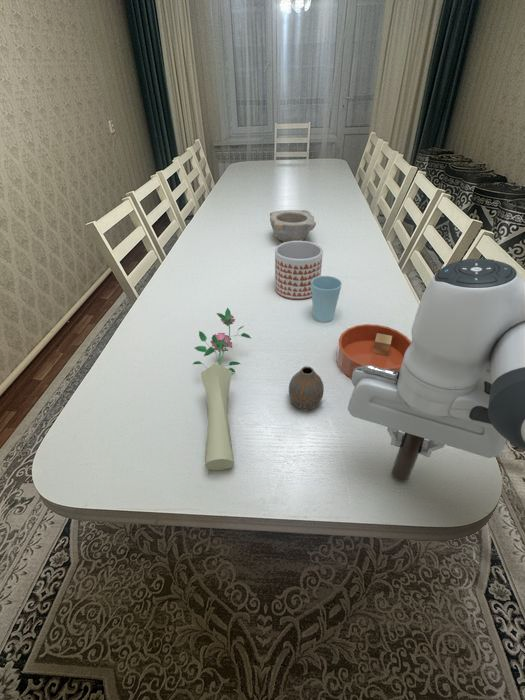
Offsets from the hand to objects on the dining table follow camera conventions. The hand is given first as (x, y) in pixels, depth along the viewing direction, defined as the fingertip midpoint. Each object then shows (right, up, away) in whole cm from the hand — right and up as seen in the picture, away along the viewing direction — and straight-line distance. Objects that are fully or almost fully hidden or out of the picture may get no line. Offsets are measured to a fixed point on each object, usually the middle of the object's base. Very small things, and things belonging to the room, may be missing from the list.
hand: (410, 447), depth 55 cm
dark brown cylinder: (0, -5, +4) cm, 7 cm away
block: (+5, +15, +30) cm, 34 cm away
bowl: (+3, +12, +28) cm, 30 cm away
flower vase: (-31, +4, +20) cm, 37 cm away
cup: (-6, +24, +43) cm, 50 cm away
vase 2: (-12, +34, +56) cm, 66 cm away
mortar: (-11, +59, +87) cm, 106 cm away
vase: (-14, +4, +19) cm, 24 cm away
